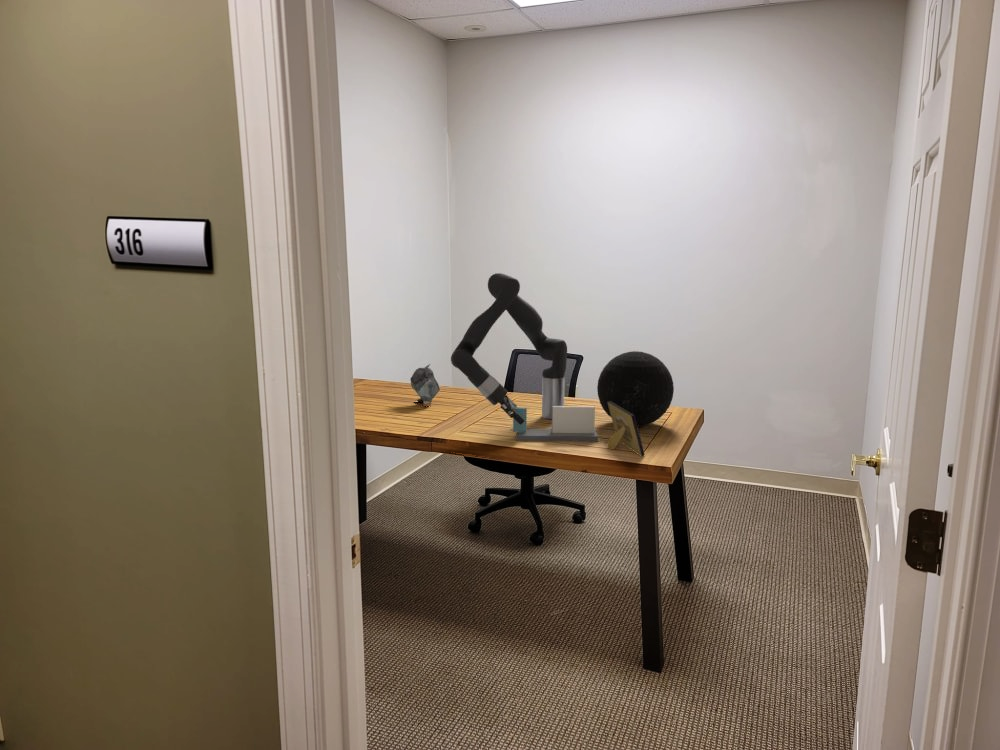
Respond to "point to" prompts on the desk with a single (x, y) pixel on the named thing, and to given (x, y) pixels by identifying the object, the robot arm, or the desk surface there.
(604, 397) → the fuzzy black sphere
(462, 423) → the desk surface
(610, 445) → the picture frame
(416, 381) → the grey bird figurine
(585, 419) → the sliding block rail
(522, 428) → the stub
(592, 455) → the desk surface
